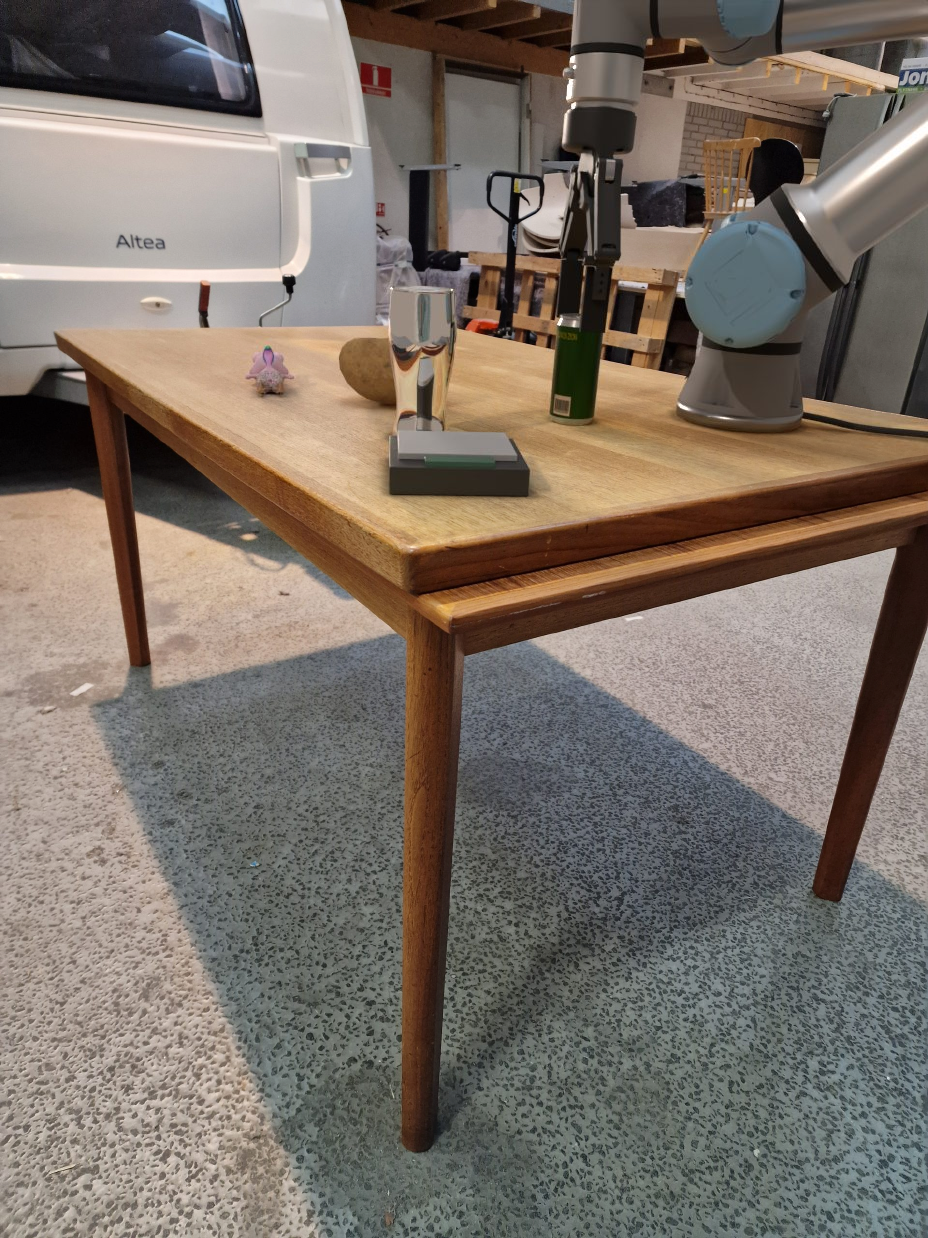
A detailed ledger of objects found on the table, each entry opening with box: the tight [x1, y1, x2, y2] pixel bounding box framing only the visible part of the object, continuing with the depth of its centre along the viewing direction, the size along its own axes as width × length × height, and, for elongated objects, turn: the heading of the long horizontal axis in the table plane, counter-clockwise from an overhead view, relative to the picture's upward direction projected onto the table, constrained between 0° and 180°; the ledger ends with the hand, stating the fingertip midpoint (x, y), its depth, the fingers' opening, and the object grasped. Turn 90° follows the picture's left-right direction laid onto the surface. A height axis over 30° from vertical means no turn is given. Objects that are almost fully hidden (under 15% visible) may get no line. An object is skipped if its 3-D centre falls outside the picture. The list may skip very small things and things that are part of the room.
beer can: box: [549, 313, 604, 426], centre depth 96 cm, size 5×5×12 cm
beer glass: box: [387, 285, 458, 436], centre depth 85 cm, size 7×7×15 cm
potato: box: [338, 337, 396, 406], centre depth 102 cm, size 10×14×8 cm
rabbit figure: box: [244, 344, 295, 397], centre depth 109 cm, size 6×6×15 cm
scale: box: [388, 430, 531, 497], centre depth 75 cm, size 12×11×3 cm
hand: (578, 324), depth 94 cm, fingers open, 13 cm apart
